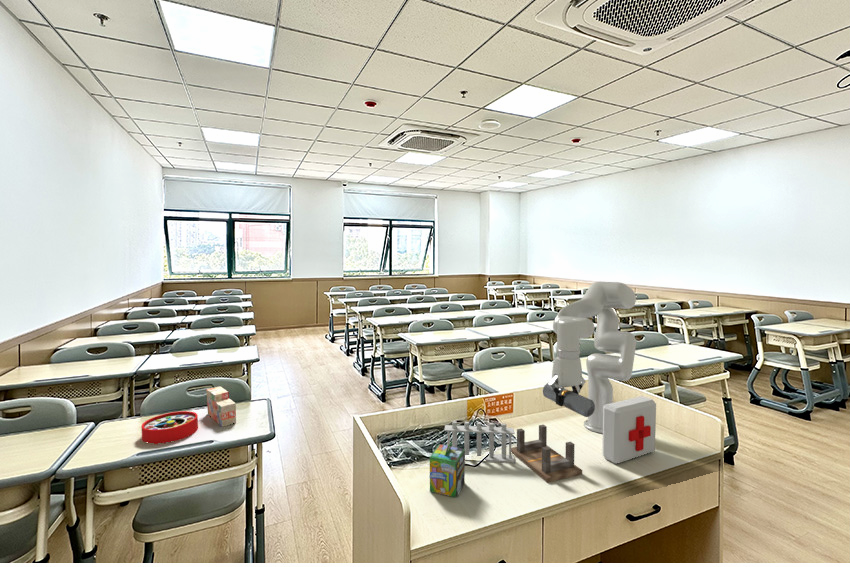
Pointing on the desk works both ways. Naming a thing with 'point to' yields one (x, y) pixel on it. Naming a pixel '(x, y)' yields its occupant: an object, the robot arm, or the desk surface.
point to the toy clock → (169, 427)
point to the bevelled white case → (628, 429)
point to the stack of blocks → (221, 406)
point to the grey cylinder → (572, 401)
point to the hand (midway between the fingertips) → (567, 403)
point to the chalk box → (447, 470)
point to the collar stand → (545, 457)
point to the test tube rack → (490, 430)
